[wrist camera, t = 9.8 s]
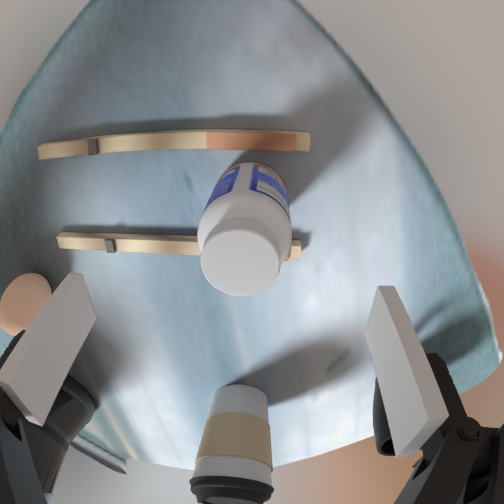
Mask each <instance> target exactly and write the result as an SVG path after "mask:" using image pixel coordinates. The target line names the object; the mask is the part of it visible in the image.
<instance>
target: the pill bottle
mask: <svg viewBox="0 0 504 504" xmlns="http://www.w3.org/2000/svg"><path fill="white" fill-rule="evenodd" d="M197 238H198V244H199V248H200V250H201V268H202V271H203V273H204V275H205V277H206V278H207V280H208V281H209V282H210V283H211V284H212V285H213V286H214V287H215V288H217V289H218V290H220V291H222V292H224V293H226V294H230V295H234V296H251V295H255V294H258V293H261V292H263V291H265V290H266V289H268V288H269V287H270V286H271V285H272V284H273V283H274V281H275V280H276V278H277V276H278V274H279V271H280V265H281V263H282V262H283V261H284V259H285V258H286V256H287V254H288V252H289V249H290V246H291V240H292V230H291V220H290V212H289V204H288V197H287V191H286V187H285V185H284V182H283V180H282V179H281V177H280V176H279V175H278V174H277V173H276V172H275V171H274V170H273V169H271V168H269V167H268V166H265V165H263V164H259V163H253V162H246V163H240V164H237V165H235V166H233V167H231V168H229V169H228V170H227V171H225V172H224V173H223V174H222V176H221V177H220V178H219V180H218V181H217V184H216V186H215V188H214V190H213V192H212V194H211V196H210V198H209V200H208V203H207V205H206V207H205V209H204V211H203V214H202V216H201V219H200V222H199V226H198V231H197Z"/></svg>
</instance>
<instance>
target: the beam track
mask: <svg viewBox="0 0 504 504" xmlns="http://www.w3.org/2000/svg"><path fill="white" fill-rule="evenodd" d="M310 141H311V134H310V133H309V132H298V131H280V130H250V129H198V130H169V131H151V132H137V133H124V134H113V135H104V136H95V137H86V138H78V139H71V140H64V141H57V142H51V143H45V144H42V145H40V146H38V147H37V150H38V156H39V160H43V159H50V158H58V157H67V156H76V155H86V154H89V155H95V154H99V153H109V152H122V151H139V150H160V149H199V148H207V149H230V150H269V151H291V152H295V151H307V152H310ZM57 241H58V244H59V248H65V249H84V250H104V251H107V253H115V252H116V251H124V252H144V253H164V254H185V255H201V250H200V248H199V244H198V238H197V236H183V235H153V234H121V233H83V232H61V233H60V234H59V235H58V236H57ZM300 256H301V240H291V246H290V249H289V252H288V254H287V256H286V258H285V259H284V261H288V259H296V260H300Z"/></svg>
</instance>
